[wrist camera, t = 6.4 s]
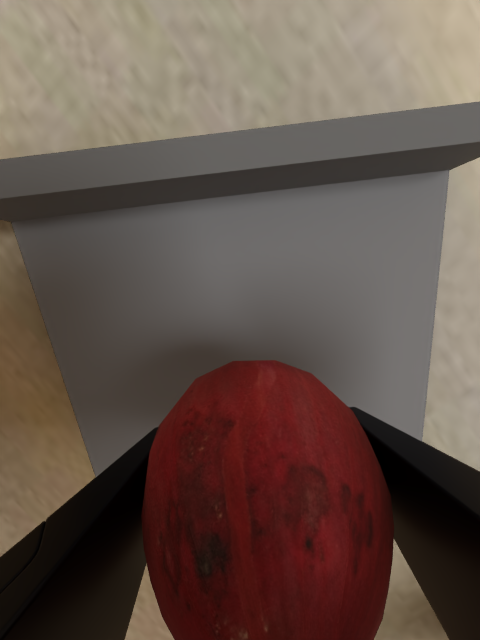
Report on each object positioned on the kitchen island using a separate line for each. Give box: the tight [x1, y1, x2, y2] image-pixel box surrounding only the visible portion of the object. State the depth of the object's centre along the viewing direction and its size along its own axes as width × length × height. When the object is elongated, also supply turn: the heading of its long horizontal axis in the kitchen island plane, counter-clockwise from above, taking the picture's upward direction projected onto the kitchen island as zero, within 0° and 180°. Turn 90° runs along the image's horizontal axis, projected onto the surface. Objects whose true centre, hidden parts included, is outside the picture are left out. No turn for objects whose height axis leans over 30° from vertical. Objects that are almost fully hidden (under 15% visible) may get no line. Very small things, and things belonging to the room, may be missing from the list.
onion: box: [141, 360, 394, 640], centre depth 6 cm, size 6×6×8 cm
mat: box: [0, 102, 480, 477], centre depth 10 cm, size 18×17×3 cm
